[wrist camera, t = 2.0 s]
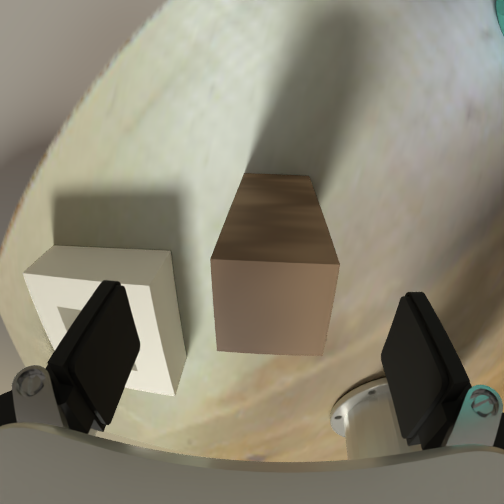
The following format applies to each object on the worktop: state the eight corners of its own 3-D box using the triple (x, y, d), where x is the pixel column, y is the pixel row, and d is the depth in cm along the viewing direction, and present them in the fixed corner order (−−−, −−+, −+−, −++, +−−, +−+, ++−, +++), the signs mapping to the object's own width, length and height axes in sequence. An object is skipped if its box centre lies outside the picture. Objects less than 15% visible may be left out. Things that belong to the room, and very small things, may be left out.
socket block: (170, 250, 25) (149, 286, 20) (186, 357, 30) (174, 396, 26) (53, 245, 25) (22, 273, 21) (85, 342, 31) (66, 373, 27)
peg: (308, 175, 21) (340, 264, 11) (304, 234, 23) (322, 355, 13) (244, 173, 21) (210, 259, 11) (244, 231, 24) (217, 350, 13)
